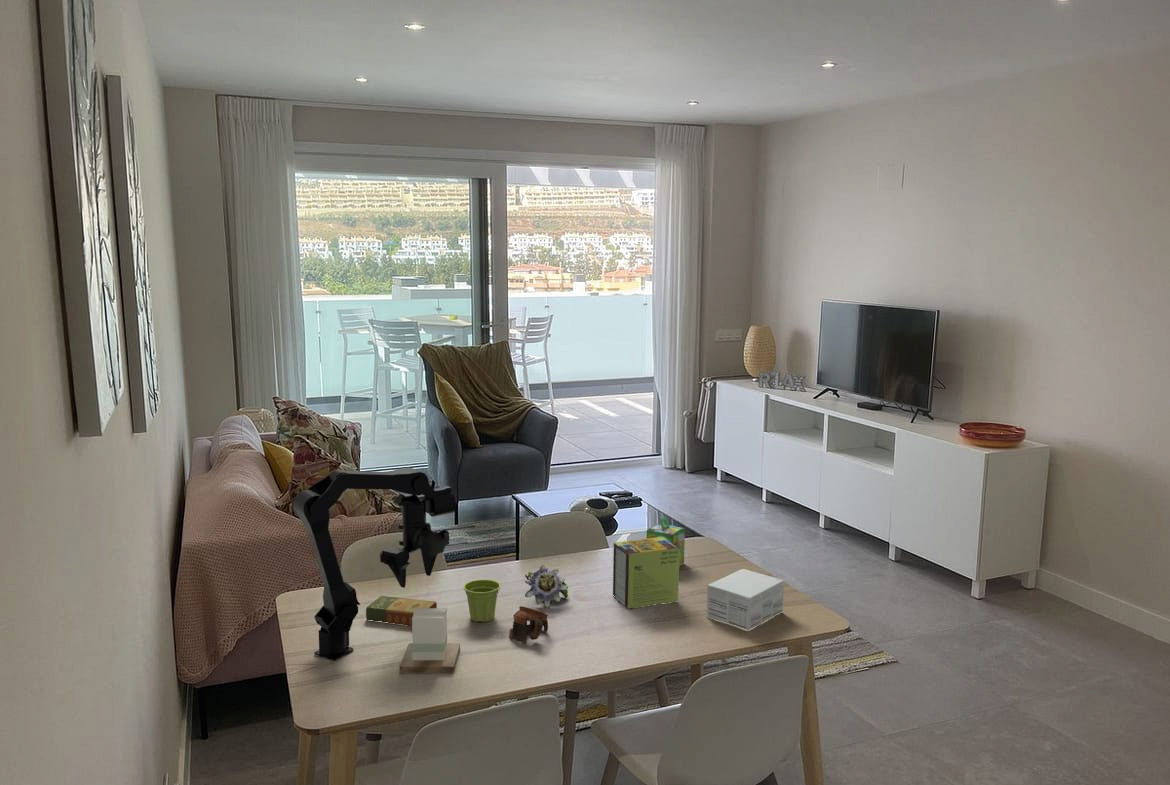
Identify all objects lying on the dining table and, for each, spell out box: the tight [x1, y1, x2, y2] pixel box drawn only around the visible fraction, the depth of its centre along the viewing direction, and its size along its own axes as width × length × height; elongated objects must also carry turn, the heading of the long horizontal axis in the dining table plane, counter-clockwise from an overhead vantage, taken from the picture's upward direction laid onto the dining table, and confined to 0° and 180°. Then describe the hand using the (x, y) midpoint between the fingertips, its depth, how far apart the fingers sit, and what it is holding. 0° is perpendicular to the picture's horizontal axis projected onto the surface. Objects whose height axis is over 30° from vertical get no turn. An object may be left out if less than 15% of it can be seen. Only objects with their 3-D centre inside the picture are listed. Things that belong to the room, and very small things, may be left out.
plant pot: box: [463, 579, 501, 623], centre depth 222 cm, size 9×9×9 cm
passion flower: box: [524, 563, 569, 608], centre depth 234 cm, size 11×11×12 cm
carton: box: [365, 595, 438, 627], centre depth 222 cm, size 8×16×4 cm, turn 76°
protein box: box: [612, 537, 680, 610], centre depth 236 cm, size 10×15×16 cm
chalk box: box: [646, 515, 686, 567], centre depth 263 cm, size 9×9×15 cm
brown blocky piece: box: [508, 605, 549, 644], centre depth 211 cm, size 12×10×8 cm
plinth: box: [399, 642, 461, 674], centre depth 198 cm, size 12×12×2 cm
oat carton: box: [411, 607, 448, 660], centre depth 197 cm, size 7×6×11 cm
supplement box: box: [706, 568, 785, 630], centre depth 226 cm, size 17×13×9 cm
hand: (416, 581), depth 212 cm, fingers open, 9 cm apart
